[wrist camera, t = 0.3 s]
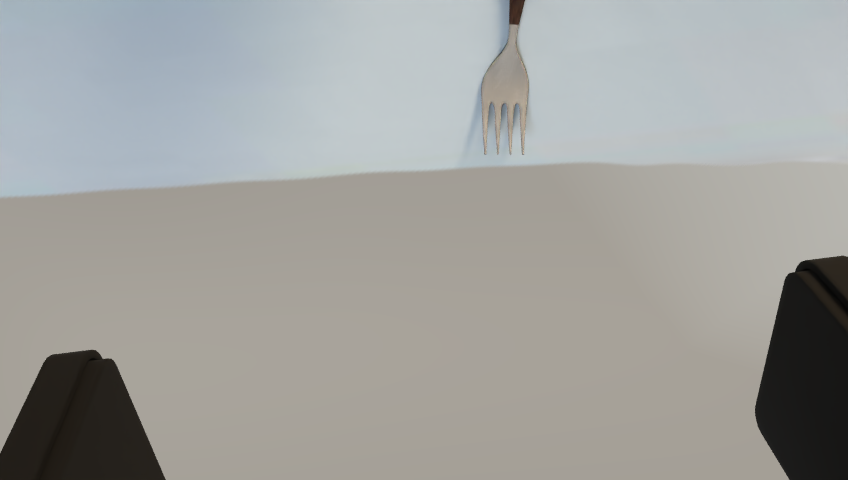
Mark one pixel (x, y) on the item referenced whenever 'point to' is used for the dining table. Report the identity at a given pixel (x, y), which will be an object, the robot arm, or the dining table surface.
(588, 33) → the dining table surface
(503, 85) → the fork
